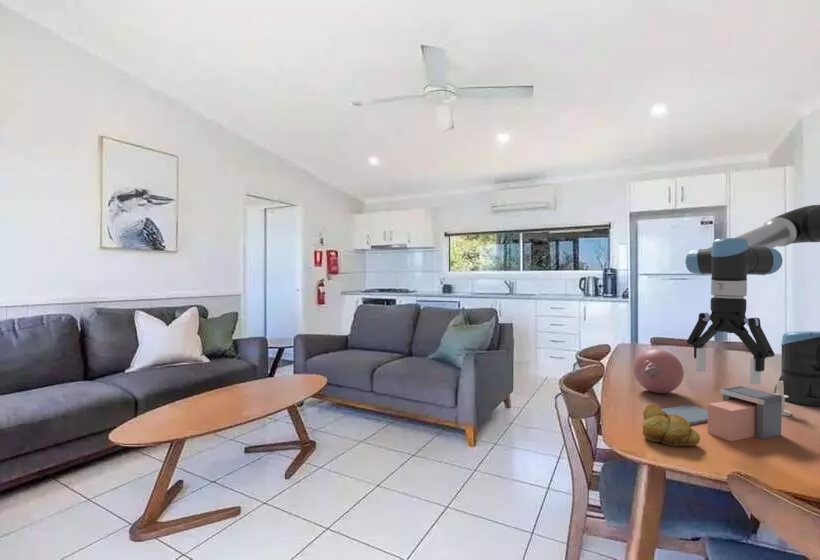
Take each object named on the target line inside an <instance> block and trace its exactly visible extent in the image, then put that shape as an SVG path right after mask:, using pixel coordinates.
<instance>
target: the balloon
mask: <svg viewBox="0 0 820 560" xmlns="http://www.w3.org/2000/svg"><path fill="white" fill-rule="evenodd" d="M633 374H634V377H635V379H636V381H637V382H638V383H639V385H640V386H642V387H643V389H645V390H647V391H650V392H652V393H656V394H667V393H670V392H673V391H674V390H676V389H678V388H679V386H680V385H681V384H682V382H683V380H684V377H685V375H684V366H683V365H682V362H680V360H679V358H677V357H676V355H674V354H672V353H671V352H669V351H667V350H664V349H660V348H659V349H658V348H657V349H656V348H655V349H648V350H646V351H644V352H642V353H640V354H639V355H638V356H637V357H636V359H635V361H634V363H633Z"/></svg>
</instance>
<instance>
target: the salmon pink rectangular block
mask: <svg viewBox="0 0 820 560" xmlns="http://www.w3.org/2000/svg"><path fill="white" fill-rule="evenodd" d="M707 411H708V422H707V434H709V435H713V436H716V437H718V438H721V439H723V440H725V441H730V442H735V441H740V440H744V439H749V438H753V437H756V427H757V403H754V402H750V401H746V400H743V399H734V400H728V401H723V400H722V401H719V402H718V401H717V402H712V403H708V404H707Z"/></svg>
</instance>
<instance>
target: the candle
mask: <svg viewBox="0 0 820 560" xmlns="http://www.w3.org/2000/svg"><path fill="white" fill-rule="evenodd" d="M776 384H777V391H776V395H780V396H782V416H786V417H789V416H792V412H791V411H789V410H786V408H788V406H787V404H785V403H786V401H785V398H788V397H789V396H787V395H784V385H783V381H778V380H777V381H776Z"/></svg>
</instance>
